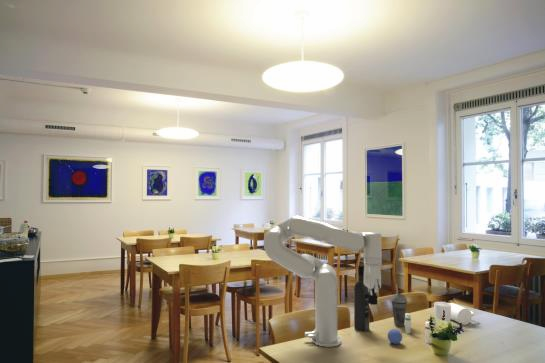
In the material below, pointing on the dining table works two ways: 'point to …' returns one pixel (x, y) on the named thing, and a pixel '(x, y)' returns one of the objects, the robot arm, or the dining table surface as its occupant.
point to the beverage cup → (399, 308)
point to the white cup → (439, 310)
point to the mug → (461, 314)
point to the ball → (395, 336)
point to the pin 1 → (407, 323)
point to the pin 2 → (427, 333)
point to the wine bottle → (361, 303)
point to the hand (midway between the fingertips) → (373, 303)
